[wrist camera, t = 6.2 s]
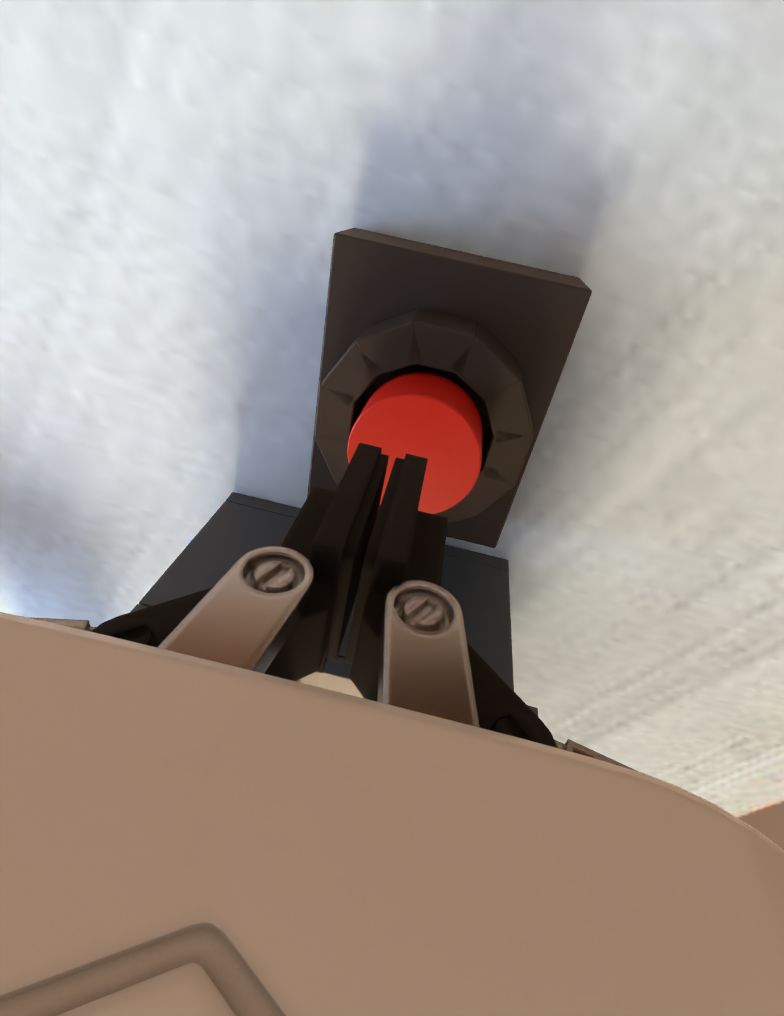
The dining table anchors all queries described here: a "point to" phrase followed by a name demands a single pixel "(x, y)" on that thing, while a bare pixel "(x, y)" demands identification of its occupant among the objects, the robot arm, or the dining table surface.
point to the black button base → (444, 354)
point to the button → (425, 434)
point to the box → (463, 575)
